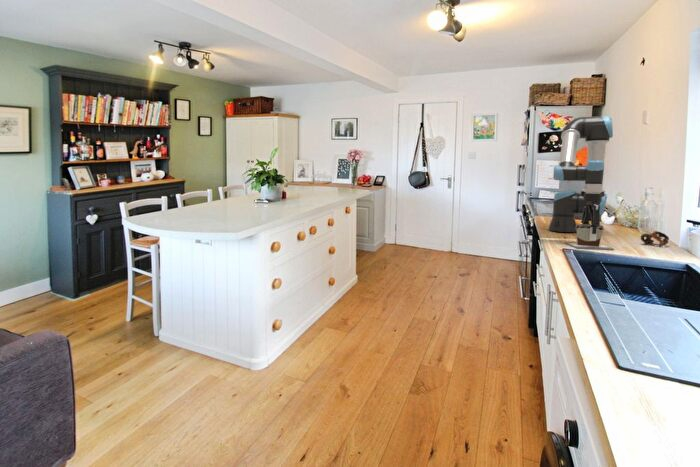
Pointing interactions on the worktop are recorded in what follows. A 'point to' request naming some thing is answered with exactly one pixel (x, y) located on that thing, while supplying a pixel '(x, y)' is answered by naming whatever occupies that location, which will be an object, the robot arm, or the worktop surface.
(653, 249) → the worktop surface
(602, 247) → the board
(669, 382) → the worktop surface
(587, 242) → the food container
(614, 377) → the worktop surface
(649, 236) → the brown looped knot
